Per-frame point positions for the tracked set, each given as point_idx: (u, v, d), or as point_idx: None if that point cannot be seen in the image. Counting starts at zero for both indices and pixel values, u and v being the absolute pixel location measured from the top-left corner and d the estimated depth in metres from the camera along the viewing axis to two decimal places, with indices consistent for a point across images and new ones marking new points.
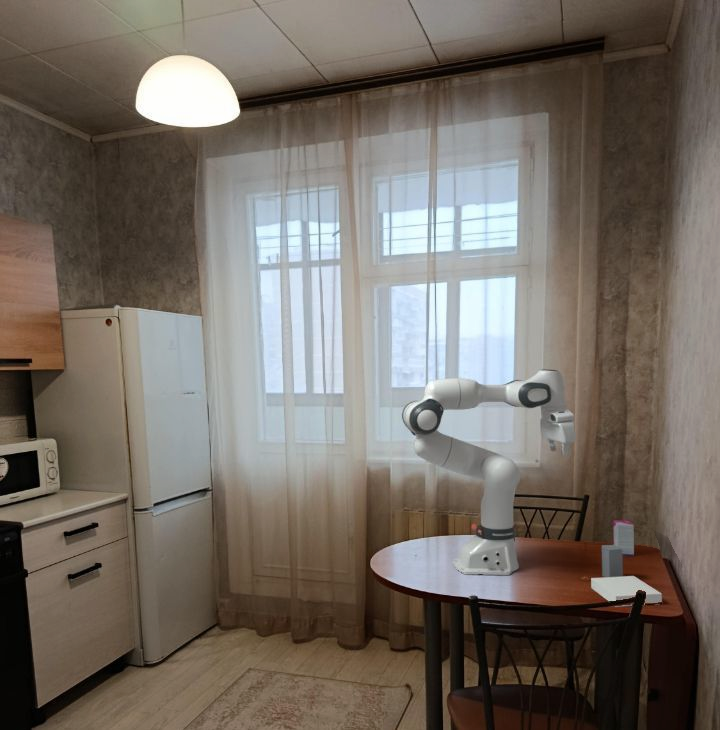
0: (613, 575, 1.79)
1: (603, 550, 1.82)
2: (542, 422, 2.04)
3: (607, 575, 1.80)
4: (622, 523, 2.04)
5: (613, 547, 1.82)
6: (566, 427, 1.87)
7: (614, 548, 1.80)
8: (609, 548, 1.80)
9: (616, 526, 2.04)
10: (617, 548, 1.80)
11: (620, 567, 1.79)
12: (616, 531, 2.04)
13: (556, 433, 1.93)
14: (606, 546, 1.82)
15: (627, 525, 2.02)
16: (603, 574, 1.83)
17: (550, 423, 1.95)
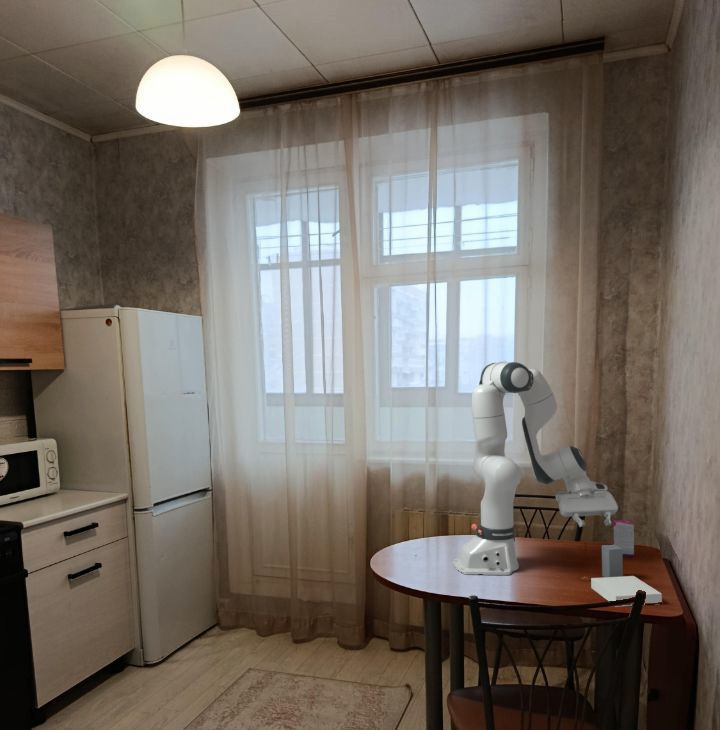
0: (613, 575, 1.79)
1: (603, 550, 1.82)
2: (567, 496, 1.97)
3: (607, 575, 1.80)
4: (622, 523, 2.04)
5: (613, 547, 1.82)
6: None
7: (614, 548, 1.80)
8: (609, 548, 1.80)
9: (616, 526, 2.04)
10: (617, 548, 1.80)
11: (620, 567, 1.79)
12: (616, 531, 2.04)
13: (598, 502, 1.96)
14: (606, 546, 1.82)
15: (627, 525, 2.02)
16: (603, 574, 1.83)
17: (591, 493, 1.98)
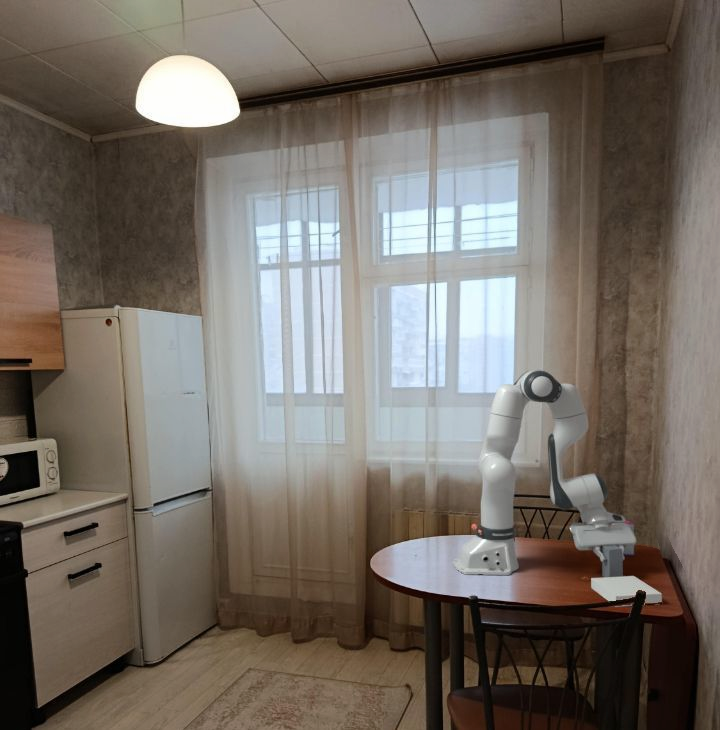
0: (613, 575, 1.79)
1: (603, 550, 1.82)
2: (582, 528, 1.87)
3: (607, 575, 1.80)
4: None
5: (613, 547, 1.82)
6: None
7: (614, 548, 1.80)
8: (609, 548, 1.80)
9: None
10: (617, 548, 1.80)
11: (620, 567, 1.79)
12: None
13: (615, 535, 1.85)
14: (606, 546, 1.82)
15: None
16: (603, 574, 1.83)
17: (607, 525, 1.87)
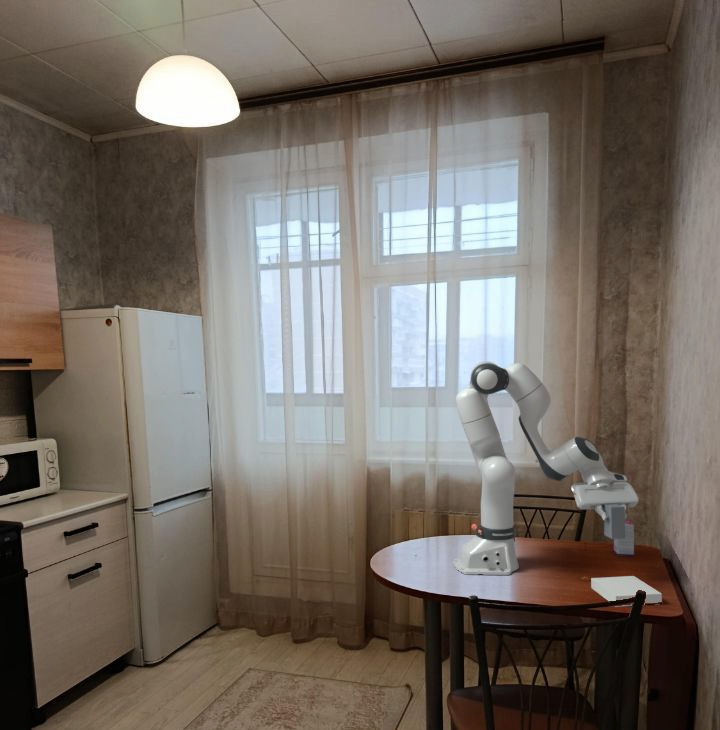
0: (615, 533, 1.76)
1: (605, 508, 1.79)
2: (584, 488, 1.83)
3: (609, 533, 1.77)
4: None
5: (615, 505, 1.79)
6: None
7: (616, 506, 1.77)
8: (611, 506, 1.77)
9: None
10: (619, 506, 1.77)
11: (622, 525, 1.76)
12: None
13: (617, 494, 1.82)
14: (608, 504, 1.79)
15: (627, 525, 2.02)
16: (605, 533, 1.80)
17: (609, 484, 1.84)
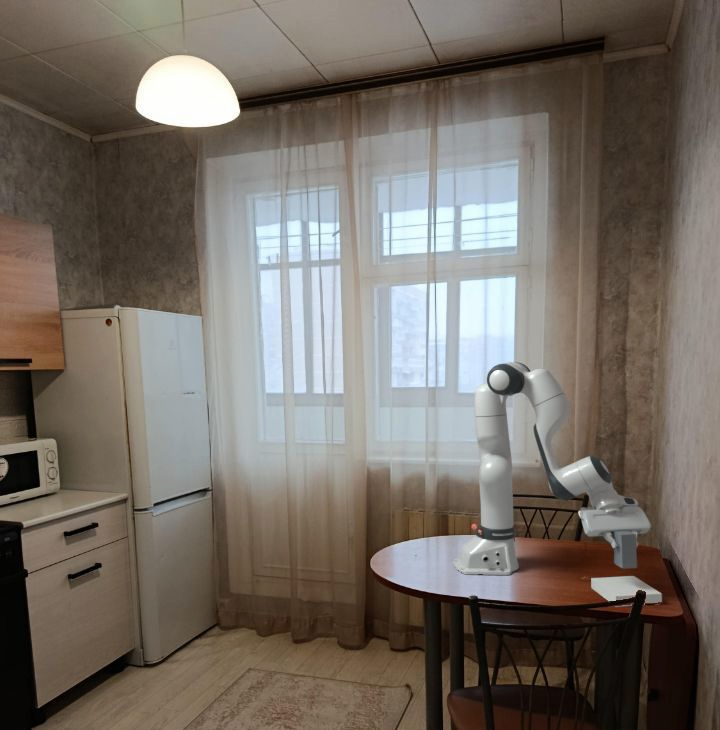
0: (626, 562, 1.65)
1: (615, 536, 1.68)
2: (592, 513, 1.72)
3: (620, 563, 1.66)
4: None
5: (625, 532, 1.67)
6: None
7: (626, 533, 1.66)
8: (621, 533, 1.66)
9: None
10: (630, 533, 1.66)
11: (634, 554, 1.65)
12: None
13: (628, 520, 1.71)
14: (618, 531, 1.68)
15: None
16: (615, 562, 1.68)
17: (619, 509, 1.73)
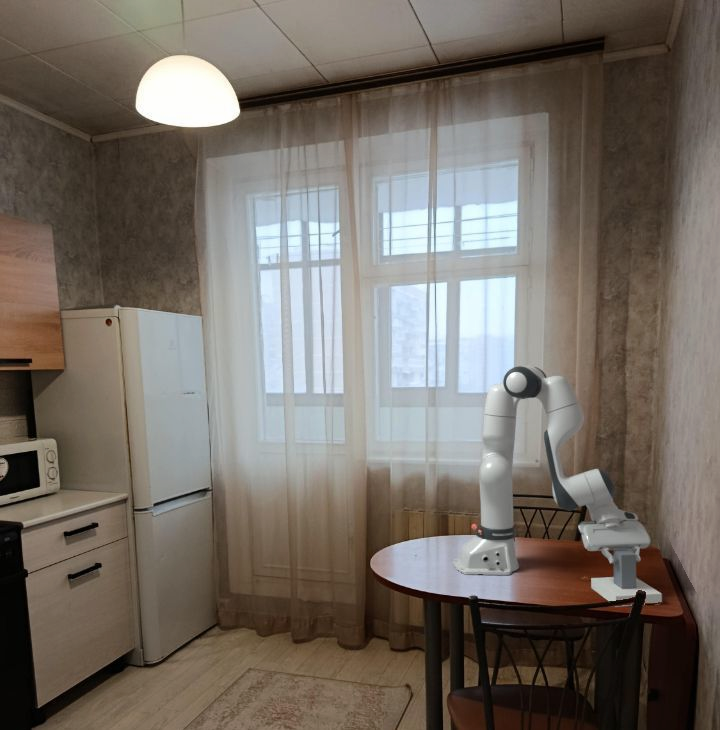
0: (626, 583, 1.65)
1: (615, 555, 1.68)
2: (592, 527, 1.72)
3: (619, 583, 1.66)
4: None
5: (625, 552, 1.67)
6: None
7: (626, 553, 1.66)
8: (621, 553, 1.66)
9: None
10: (630, 553, 1.66)
11: (633, 574, 1.65)
12: None
13: (628, 535, 1.71)
14: (618, 551, 1.68)
15: None
16: (615, 582, 1.68)
17: (619, 524, 1.73)
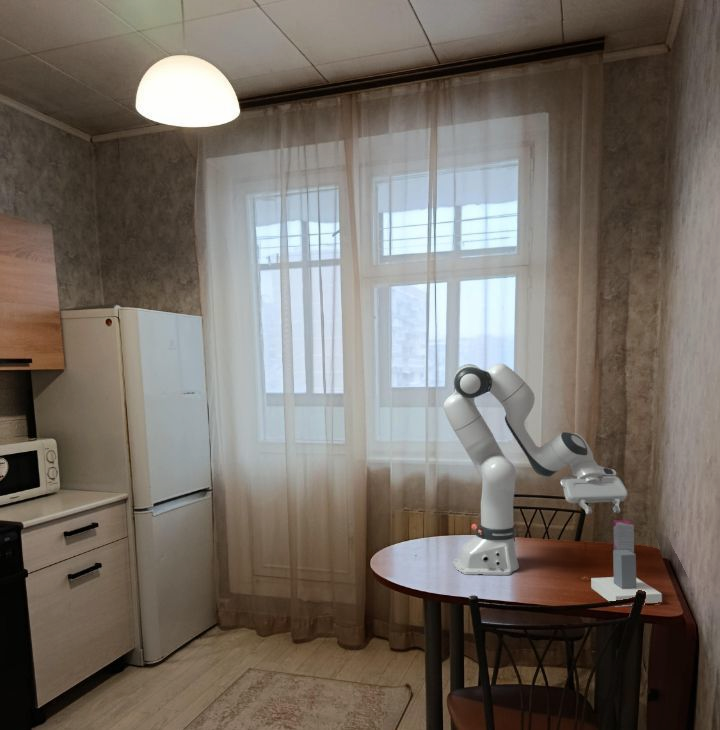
0: (626, 583, 1.65)
1: (615, 555, 1.68)
2: (572, 482, 1.84)
3: (619, 583, 1.66)
4: (622, 523, 2.04)
5: (625, 552, 1.67)
6: None
7: (626, 553, 1.66)
8: (621, 553, 1.66)
9: (616, 526, 2.04)
10: (630, 553, 1.66)
11: (633, 574, 1.65)
12: (616, 531, 2.04)
13: (606, 488, 1.83)
14: (618, 551, 1.68)
15: (627, 525, 2.02)
16: (615, 582, 1.68)
17: (598, 478, 1.85)
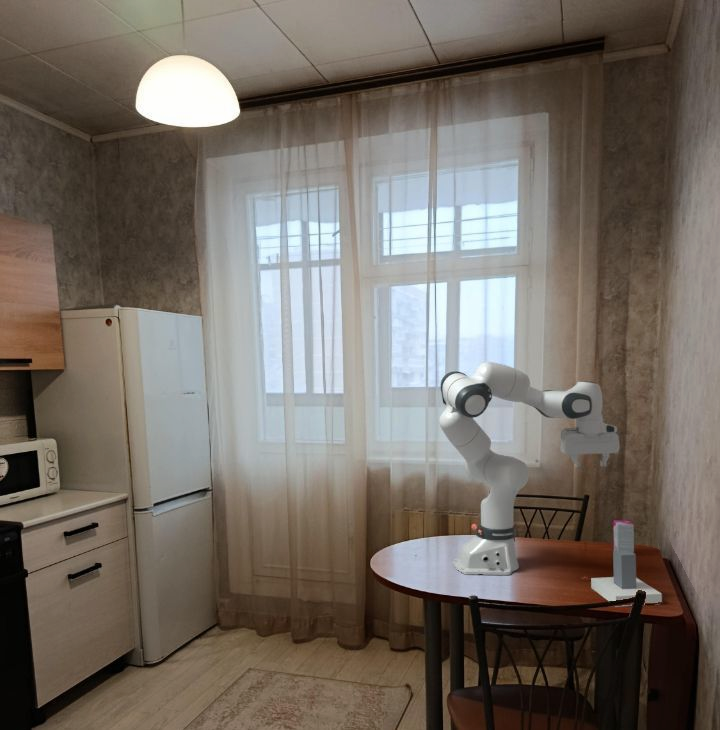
0: (626, 583, 1.65)
1: (615, 555, 1.68)
2: (572, 437, 1.92)
3: (619, 583, 1.66)
4: (622, 523, 2.04)
5: (625, 552, 1.67)
6: None
7: (626, 553, 1.66)
8: (621, 553, 1.66)
9: (616, 526, 2.04)
10: (630, 553, 1.66)
11: (633, 574, 1.65)
12: (616, 531, 2.04)
13: (601, 445, 1.93)
14: (618, 551, 1.68)
15: (627, 525, 2.02)
16: (615, 582, 1.68)
17: (598, 436, 1.92)
